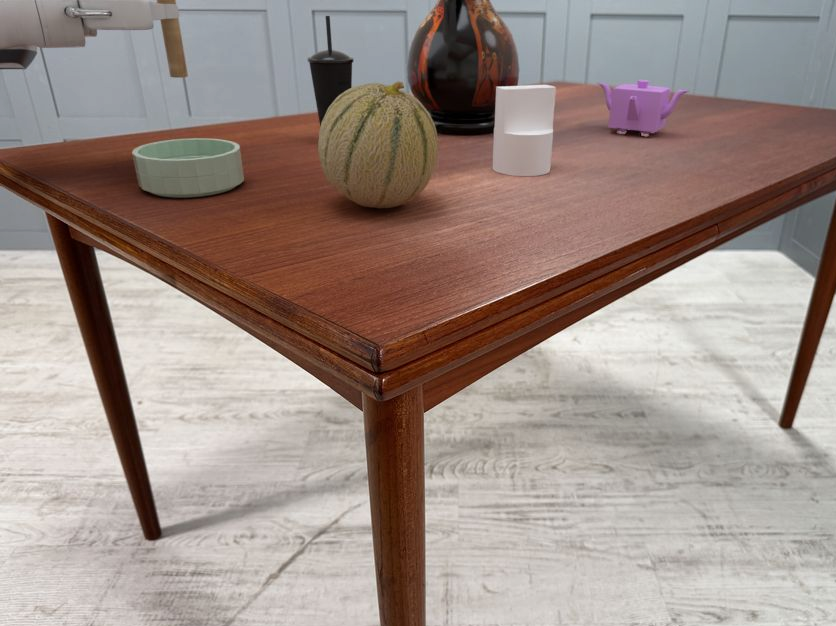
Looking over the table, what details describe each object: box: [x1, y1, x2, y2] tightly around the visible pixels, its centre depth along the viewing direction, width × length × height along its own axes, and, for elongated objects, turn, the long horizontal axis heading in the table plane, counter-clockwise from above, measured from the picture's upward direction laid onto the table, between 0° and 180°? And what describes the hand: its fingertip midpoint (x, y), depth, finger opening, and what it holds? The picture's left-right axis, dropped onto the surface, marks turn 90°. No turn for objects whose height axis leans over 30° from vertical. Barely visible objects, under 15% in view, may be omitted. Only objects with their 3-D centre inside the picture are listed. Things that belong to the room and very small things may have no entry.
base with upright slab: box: [492, 84, 557, 177], centre depth 101 cm, size 9×9×12 cm
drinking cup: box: [306, 15, 355, 127], centre depth 114 cm, size 8×8×20 cm
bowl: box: [131, 137, 245, 198], centre depth 90 cm, size 13×13×5 cm
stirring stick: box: [156, 0, 189, 78], centre depth 93 cm, size 2×2×16 cm
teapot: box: [596, 79, 690, 134], centre depth 129 cm, size 18×13×10 cm
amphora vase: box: [406, 0, 520, 135], centre depth 126 cm, size 22×22×28 cm
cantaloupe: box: [317, 80, 439, 209], centre depth 82 cm, size 15×15×15 cm
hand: (174, 10), depth 93 cm, fingers closed on stirring stick, 2 cm apart
